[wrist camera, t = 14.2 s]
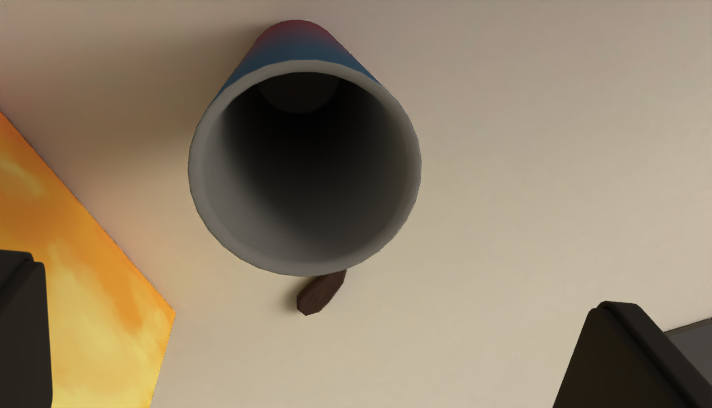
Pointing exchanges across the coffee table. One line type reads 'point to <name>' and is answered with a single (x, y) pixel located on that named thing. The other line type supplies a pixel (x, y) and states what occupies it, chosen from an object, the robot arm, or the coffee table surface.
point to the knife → (319, 292)
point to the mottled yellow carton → (82, 288)
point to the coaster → (695, 345)
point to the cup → (303, 157)
